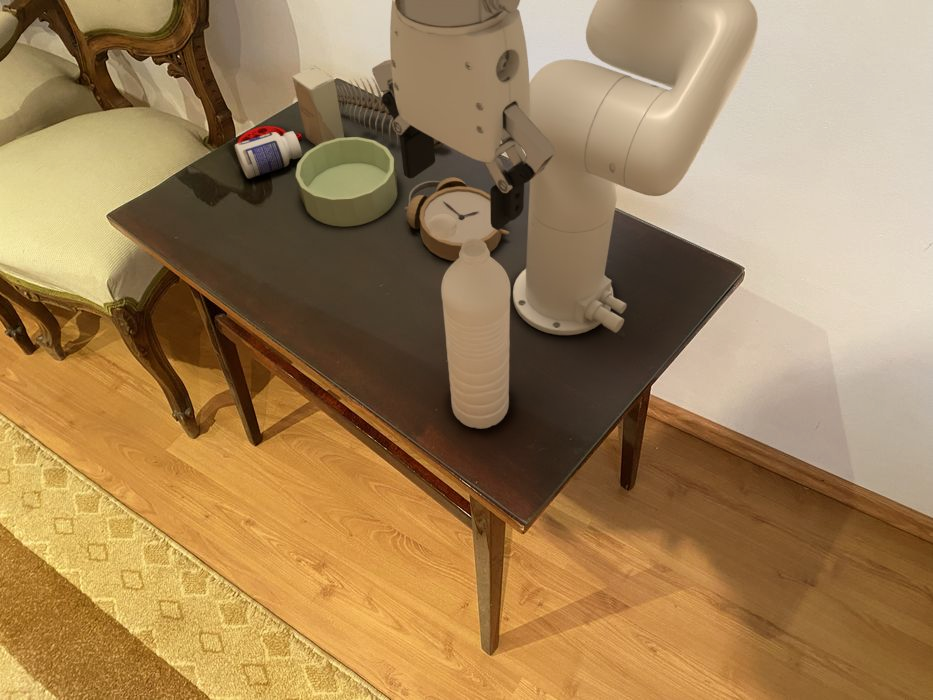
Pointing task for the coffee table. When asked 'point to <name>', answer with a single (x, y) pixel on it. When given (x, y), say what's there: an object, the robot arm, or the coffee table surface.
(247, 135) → the ornament
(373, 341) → the coffee table surface
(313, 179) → the holder
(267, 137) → the pill bottle
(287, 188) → the coffee table surface
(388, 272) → the coffee table surface
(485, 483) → the coffee table surface
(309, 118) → the box
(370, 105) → the fish skeleton
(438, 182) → the alarm clock
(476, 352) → the plastic bottle and lid
